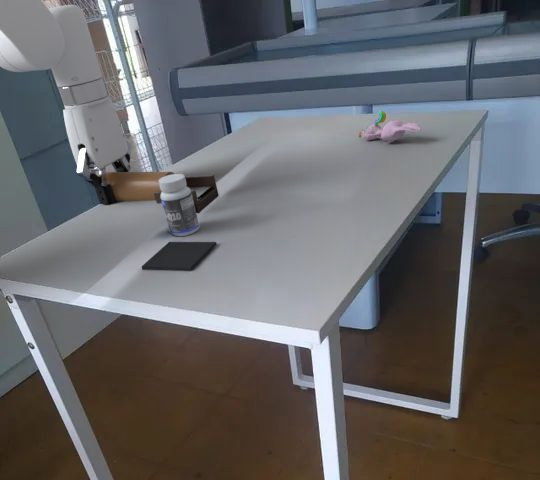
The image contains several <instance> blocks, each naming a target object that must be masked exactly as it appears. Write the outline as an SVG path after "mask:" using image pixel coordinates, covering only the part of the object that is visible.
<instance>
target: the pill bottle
mask: <svg viewBox="0 0 540 480" xmlns="http://www.w3.org/2000/svg"><path fill="white" fill-rule="evenodd" d="M185 176H186V175H185V174H184V173H174V174H172V175H168V176H165V177H162V178H161V179H159V185H160V189H161V191H163V192H162V193H161V195H160V197H161V201H162V203H161V204H162V207H163V211H164V215H165V219H166V222H167V226H168V230H169V232H170V234H171V235H172V236H174V237H186V236H190V235H192V234H194V233H196V232H197V231H199V229H200V223H199V219H198V213H196V210H195V206H194V202H193V197H192V193H191V190H192V189H191V188H188V187H187V186H186V185H187V183H186V179H185Z"/></svg>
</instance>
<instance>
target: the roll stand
mask: <svg viewBox="0 0 540 480" xmlns="http://www.w3.org/2000/svg"><path fill="white" fill-rule="evenodd" d="M184 176H185V179H186V183H187V185H186V186H187V187H188V188H190V190H191V193H192V197H193V202H194V206H195V210H196V214H200V213H201V212H202V211H203V210H204V209H205V208H207V207H208V206H209V205H210V204H211V203H212V202H213V201H214V200H215V199H217V198H218V197H219V190H218V187H217V181H216V178H215V174H200V175H199V174H198V175H197V174H196V175H184ZM191 188H207V189H206V190H205V191H204V192H202V193H201V194H200V195H199V196H198V195H197V192H196V189H191ZM162 192H163V191H156V192H154V196H155V199H156V200H155V202H156V204H162V201H161V197H160V195H161V193H162Z"/></svg>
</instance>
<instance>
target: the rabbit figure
mask: <svg viewBox="0 0 540 480" xmlns="http://www.w3.org/2000/svg"><path fill="white" fill-rule="evenodd" d="M378 113H379V116H378V117H377V118H376V119H375V121H374V123H373V124H372V125H370V126H367V127H366V129H365V130H363V129H361V130H359V129H358V132H357V139H360V138H362V137H363V140H365V141H368V142H369V141H373V140H377V139H381V141H383V142H387V143H388V144H391V143H395V142H396V141H398V140H400V139H402V138H403V137H404V134H405V132H409V133H413V134H415V133H416V131H422V128H421V125H419V124H418V122H417V123H416V122H408V123H405V122H403V121H400V120H397V119H396V120H393V119H392V120H390V121H388V122H387V123H386V124H385V125H384V126H383V128H382V127H381V125H380V124H383V123H384V122H385V121H386V119H387V114H386V113H385V111H383V110H379V111H378Z"/></svg>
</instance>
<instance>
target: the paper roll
mask: <svg viewBox="0 0 540 480" xmlns="http://www.w3.org/2000/svg"><path fill="white" fill-rule="evenodd" d="M172 174H175V173H174V172H173V171H129V172H116V171H106V177H107V184H110V185H111V188H112V191H113V194H114V197H115V200H116V202H143V201H145V202H149V201H151V202H152V201H156V199H155V196H154V192H156V191H161V189H160V185H159V179H161V178H162V177H165V176H168V175H172ZM98 176H99V175H98ZM99 177H100V176H99Z"/></svg>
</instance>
